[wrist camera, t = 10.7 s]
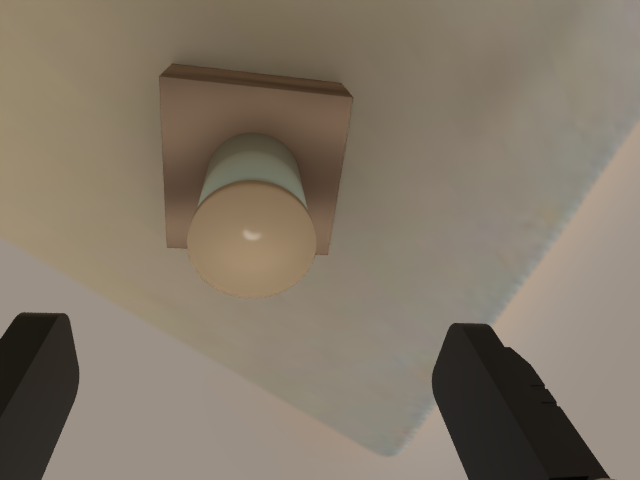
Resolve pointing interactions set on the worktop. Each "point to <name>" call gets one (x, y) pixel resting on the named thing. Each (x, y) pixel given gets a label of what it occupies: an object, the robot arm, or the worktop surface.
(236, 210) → the jar
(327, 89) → the plinth
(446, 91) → the worktop surface
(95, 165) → the worktop surface
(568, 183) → the worktop surface
